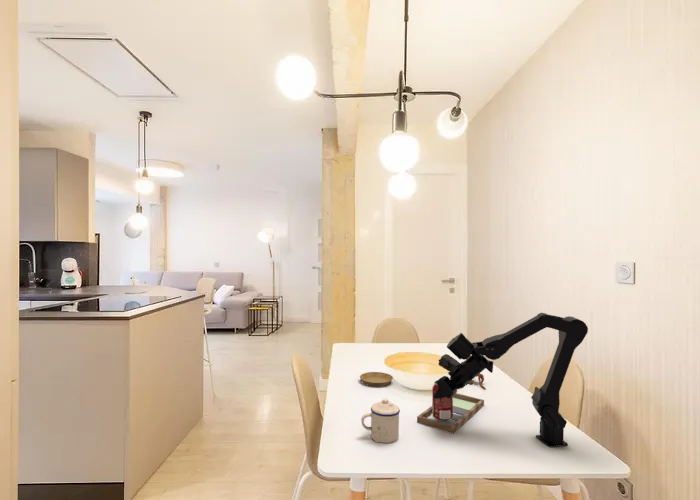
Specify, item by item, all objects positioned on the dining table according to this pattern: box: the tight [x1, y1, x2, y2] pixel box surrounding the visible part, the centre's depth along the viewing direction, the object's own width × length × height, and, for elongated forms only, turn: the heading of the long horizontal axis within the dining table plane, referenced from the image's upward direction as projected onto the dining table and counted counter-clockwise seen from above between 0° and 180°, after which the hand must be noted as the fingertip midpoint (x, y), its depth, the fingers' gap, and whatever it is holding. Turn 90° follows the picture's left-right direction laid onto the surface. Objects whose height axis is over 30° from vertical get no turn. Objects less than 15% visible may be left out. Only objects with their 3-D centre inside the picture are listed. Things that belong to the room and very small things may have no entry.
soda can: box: [431, 380, 454, 422], centre depth 128 cm, size 7×7×12 cm
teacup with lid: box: [360, 398, 401, 444], centre depth 117 cm, size 12×9×12 cm
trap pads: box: [451, 407, 468, 422], centre depth 135 cm, size 11×11×1 cm
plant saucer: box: [359, 371, 394, 387], centre depth 167 cm, size 15×15×3 cm
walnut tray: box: [416, 392, 485, 435], centre depth 135 cm, size 30×13×2 cm, turn 143°
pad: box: [453, 398, 476, 411], centre depth 143 cm, size 8×11×1 cm
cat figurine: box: [467, 355, 486, 390], centre depth 169 cm, size 18×7×14 cm, turn 11°
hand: (438, 394), depth 129 cm, fingers closed on soda can, 7 cm apart
